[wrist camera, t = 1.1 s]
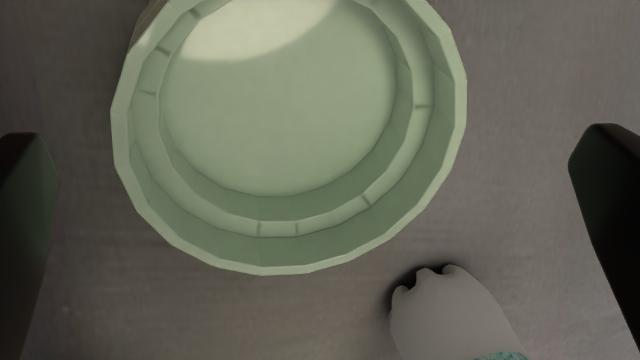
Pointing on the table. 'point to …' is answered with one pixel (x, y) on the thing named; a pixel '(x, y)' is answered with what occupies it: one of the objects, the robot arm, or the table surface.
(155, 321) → the table surface
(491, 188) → the table surface
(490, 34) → the table surface
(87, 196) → the table surface
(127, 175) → the bowl
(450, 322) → the bottle
